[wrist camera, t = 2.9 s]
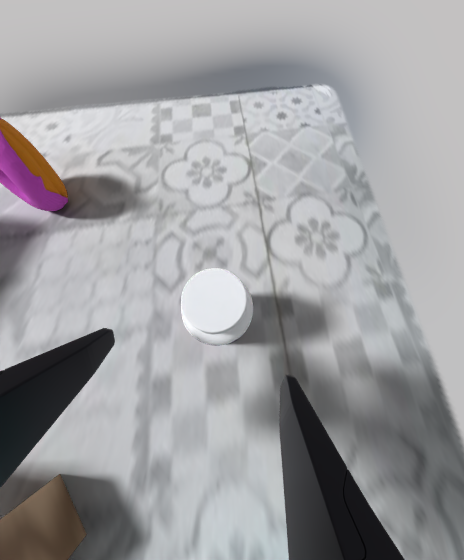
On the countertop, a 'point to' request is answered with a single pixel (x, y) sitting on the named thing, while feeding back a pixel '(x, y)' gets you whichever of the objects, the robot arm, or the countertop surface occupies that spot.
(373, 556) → the robot arm
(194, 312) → the pill bottle
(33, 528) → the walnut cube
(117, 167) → the countertop surface
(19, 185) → the donut
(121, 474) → the countertop surface
